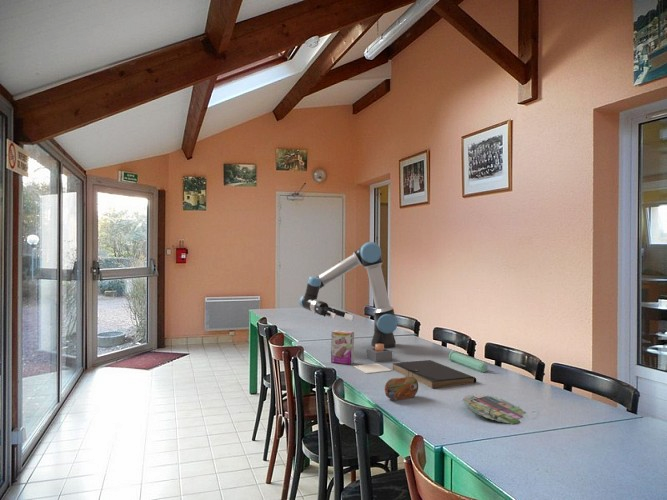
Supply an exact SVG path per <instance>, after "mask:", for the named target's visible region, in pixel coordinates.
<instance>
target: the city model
mask: <svg viewBox="0 0 667 500" xmlns="http://www.w3.org/2000/svg"><path fill="white" fill-rule="evenodd" d="M461 401H462V402H463V404H464V405H465V406H466V408H467V409H468V410H469V411H471V412H473V413H475V414H476V415H479V416H481V417H484V418H486V419H490V420H492V421H494V420H495V421H497V422H500V423H501V422H502V423H506V424H511V425H514V424H515V425H516V424H518V423H520V422H521V421H520V420H522V419H523V418H524V416H525V414H526V411H524V410H522V408H520V405H518V406H517V405H515V404H513V403H511V402H509V401H507V400H505V399H503V398H498V397H497V396H496V397H495V396H491V395H490V396H489V395H485V394H476V393H475V394H469V395H466V396H464V397H463V398H462V400H461Z"/></svg>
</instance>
